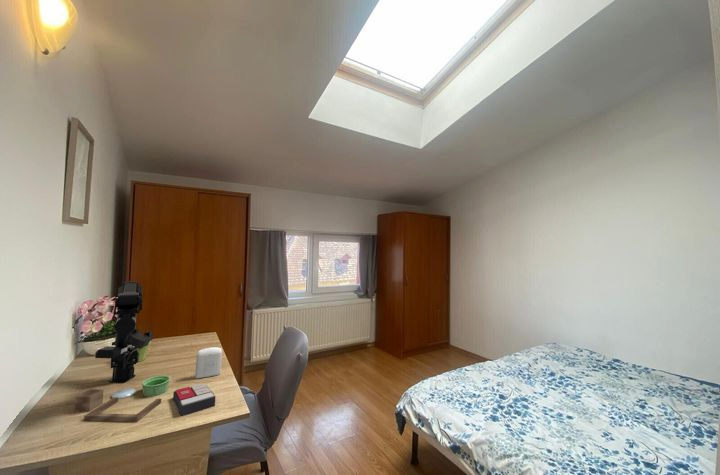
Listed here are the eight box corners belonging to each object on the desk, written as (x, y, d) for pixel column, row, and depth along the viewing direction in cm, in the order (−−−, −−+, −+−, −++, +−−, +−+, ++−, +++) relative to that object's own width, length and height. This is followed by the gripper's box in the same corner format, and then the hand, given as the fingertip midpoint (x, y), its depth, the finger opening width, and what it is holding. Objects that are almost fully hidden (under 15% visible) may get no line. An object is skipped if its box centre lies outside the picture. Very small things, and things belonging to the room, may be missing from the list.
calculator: (205, 381, 113) (216, 394, 102) (204, 392, 113) (215, 406, 102) (173, 389, 106) (181, 404, 95) (172, 401, 106) (180, 417, 95)
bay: (83, 420, 90) (84, 415, 91) (113, 401, 102) (114, 397, 102) (137, 421, 91) (137, 417, 91) (161, 402, 102) (161, 398, 103)
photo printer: (219, 371, 130) (221, 344, 131) (221, 375, 127) (223, 347, 127) (194, 376, 125) (196, 348, 125) (195, 380, 121) (197, 351, 122)
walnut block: (74, 411, 95) (75, 396, 95) (88, 403, 100) (89, 389, 100) (89, 411, 95) (90, 396, 96) (102, 403, 100) (103, 389, 101)
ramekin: (162, 396, 107) (163, 385, 107) (135, 398, 105) (136, 386, 105) (173, 385, 115) (174, 374, 116) (148, 386, 114) (149, 375, 114)
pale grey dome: (106, 399, 103) (106, 397, 103) (121, 389, 110) (121, 388, 110) (125, 399, 104) (125, 397, 104) (139, 390, 110) (139, 388, 111)
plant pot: (152, 360, 140) (154, 342, 140) (129, 366, 132) (131, 347, 132) (144, 355, 145) (146, 338, 145) (122, 361, 137) (123, 343, 137)
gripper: (128, 334, 98) (124, 380, 97) (163, 321, 116) (160, 359, 115) (95, 334, 97) (91, 379, 96) (136, 321, 116) (132, 359, 115)
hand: (122, 368), depth 106 cm, fingers closed
